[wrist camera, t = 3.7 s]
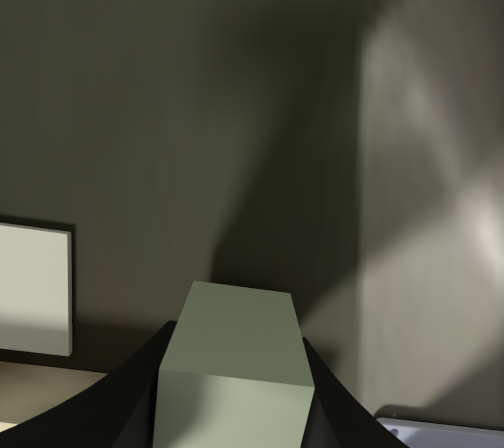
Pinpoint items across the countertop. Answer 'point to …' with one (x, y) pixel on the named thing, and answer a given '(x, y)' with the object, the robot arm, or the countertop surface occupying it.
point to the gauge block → (234, 372)
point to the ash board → (37, 389)
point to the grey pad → (35, 290)
